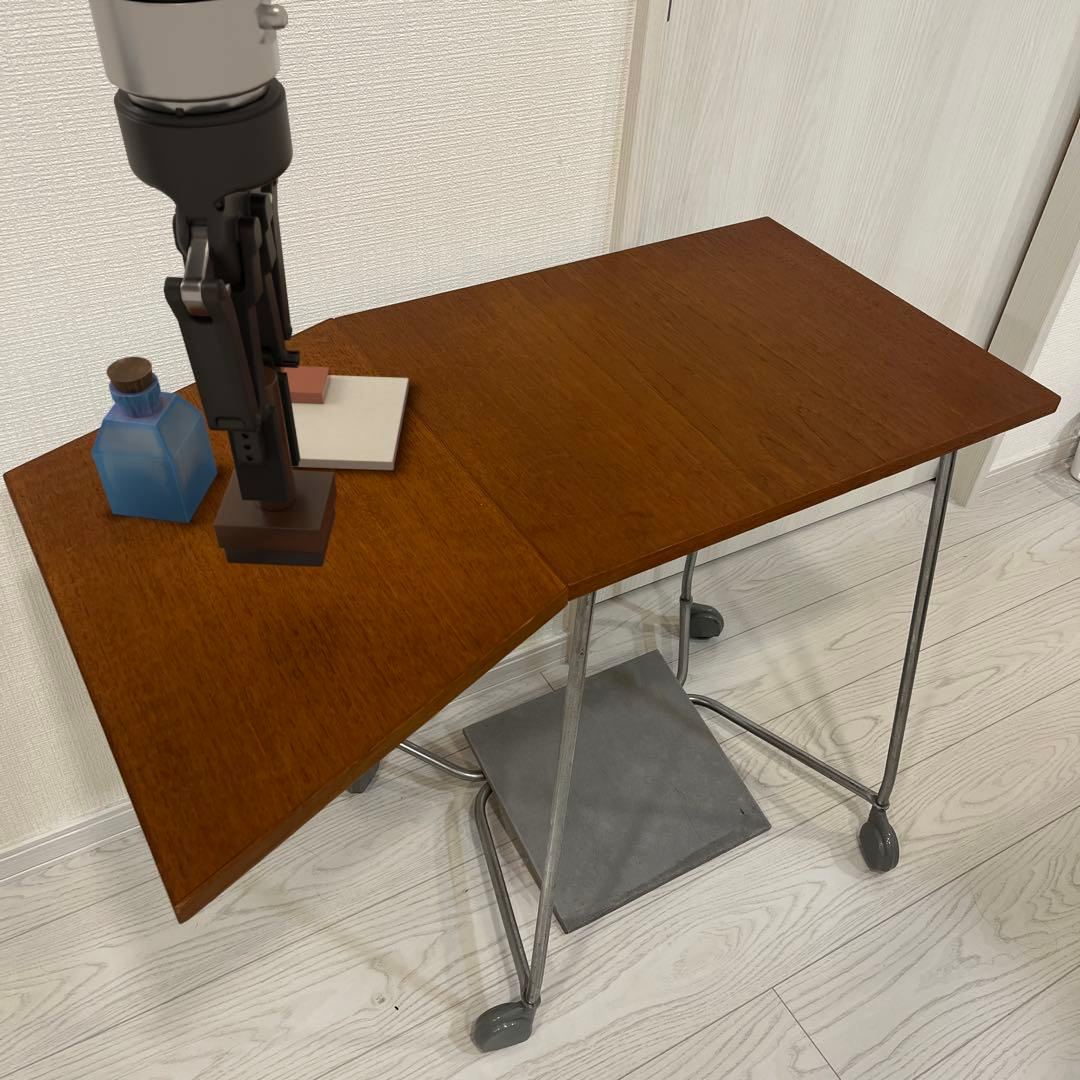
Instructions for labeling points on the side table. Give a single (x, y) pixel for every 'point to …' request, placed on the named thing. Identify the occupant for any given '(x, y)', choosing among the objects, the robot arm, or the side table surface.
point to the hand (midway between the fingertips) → (271, 478)
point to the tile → (352, 424)
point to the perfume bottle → (152, 447)
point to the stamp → (279, 512)
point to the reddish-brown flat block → (308, 384)
